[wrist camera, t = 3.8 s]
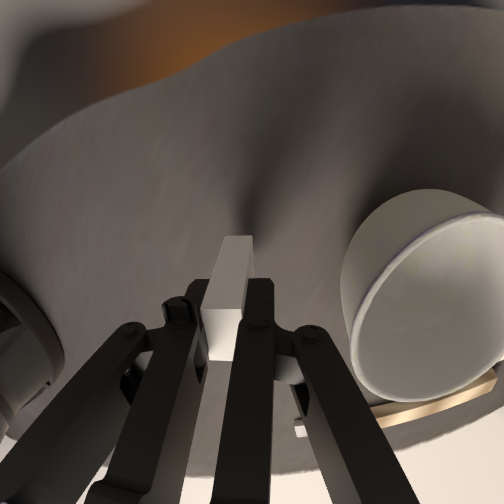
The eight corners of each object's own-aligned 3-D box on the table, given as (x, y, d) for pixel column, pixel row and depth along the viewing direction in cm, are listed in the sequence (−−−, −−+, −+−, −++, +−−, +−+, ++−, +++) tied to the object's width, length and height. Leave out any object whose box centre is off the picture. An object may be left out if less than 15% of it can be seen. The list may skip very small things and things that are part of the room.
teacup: (349, 336, 21) (371, 426, 14) (300, 206, 17) (320, 282, 10) (499, 270, 18) (554, 331, 11) (489, 137, 14) (576, 168, 7)
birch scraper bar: (297, 431, 28) (297, 442, 26) (294, 420, 27) (294, 432, 25) (486, 381, 24) (491, 390, 23) (492, 368, 23) (498, 377, 22)
